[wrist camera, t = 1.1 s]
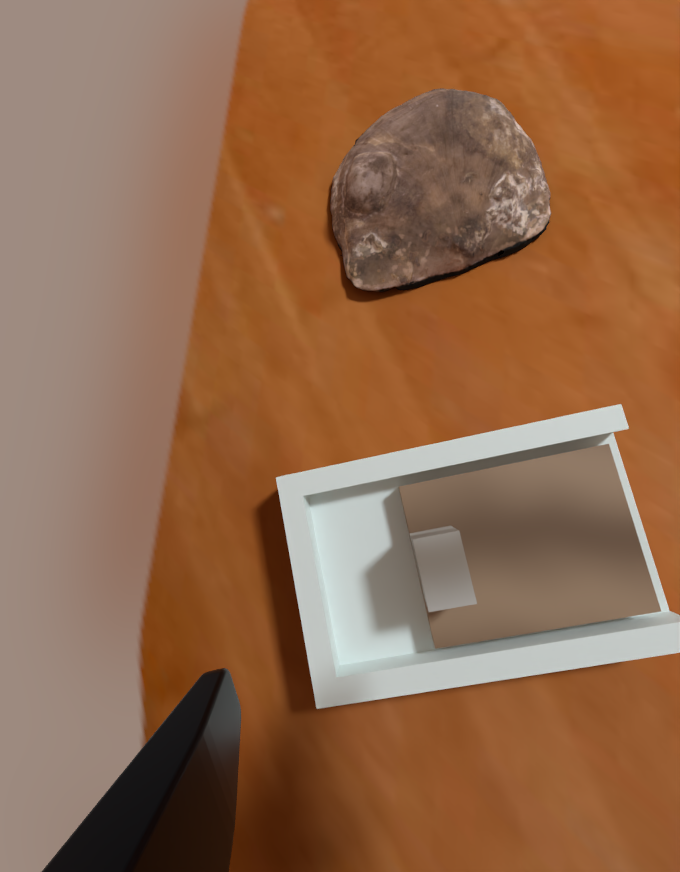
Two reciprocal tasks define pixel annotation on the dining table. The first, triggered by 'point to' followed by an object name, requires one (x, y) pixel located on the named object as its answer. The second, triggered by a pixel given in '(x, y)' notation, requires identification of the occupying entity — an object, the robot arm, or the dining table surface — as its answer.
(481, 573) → the cover plate
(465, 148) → the shell
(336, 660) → the open box
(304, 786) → the dining table surface
